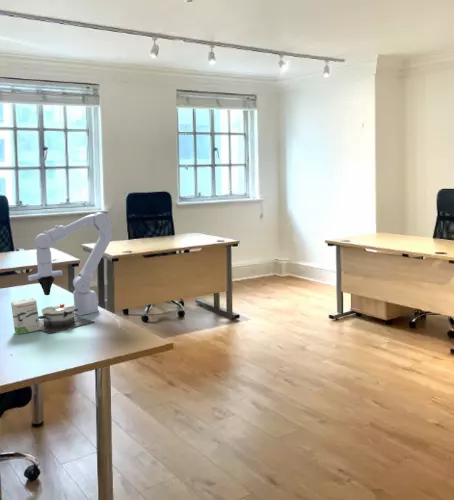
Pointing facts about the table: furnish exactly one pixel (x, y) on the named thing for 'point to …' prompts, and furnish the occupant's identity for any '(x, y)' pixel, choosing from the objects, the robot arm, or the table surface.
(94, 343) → the table surface
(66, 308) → the lid
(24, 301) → the ink box
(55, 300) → the table surface
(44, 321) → the cooking pot
